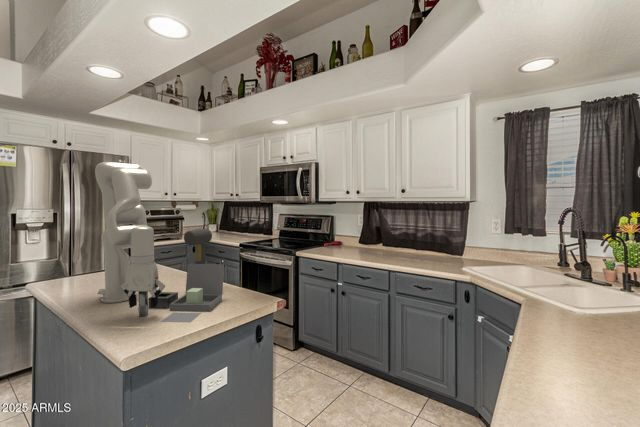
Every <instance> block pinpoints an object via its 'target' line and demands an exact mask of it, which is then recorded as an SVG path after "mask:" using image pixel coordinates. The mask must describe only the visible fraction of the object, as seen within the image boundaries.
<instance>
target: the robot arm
mask: <svg viewBox="0 0 640 427" xmlns="http://www.w3.org/2000/svg"><path fill="white" fill-rule="evenodd" d="M94 172H95V173H94V174H95V179H96V182H97V185H98V187H99V189H100V191H101V195H102V208H103V210H102V211H103V218H104V220H105V222H106V223H105V224H106V229H105V230H103V231H102V233H101V237H100V238H101V243H102V248H103V253H104V254H103V258H104V288H100V289H99V290H98V291H97V293H96V294H97V295H102V297H101V298H100V302H102V303H104V304H105V303H106V304H113V303H122V302H127V301H128V305H129V308H131V309H132V308H134V307H136V306H137V300H138V299H137V292H138V293H139V292H148V293H150V297H151V296H152V297H151V298H150V301H151V308H150V309H155V308H154V307H156V306H157V304H158V295H159V294H160V293H161V292H163V290H164V289H165V288H166V285H165V284H164V283H163V282H162V281H160V279H159V271H158V267H157V263H156V262H155V233H154V232H155V231H154V228H153V227H152V226H148V222H147V213H146V209H145V207H144V205H142V204H141V202H142V200H141V195H140V191H139V190H148V189H150V188H151V187H152V184H153V177H152V175H151V173H150V172H149V170H148V169H147V168H145V167H144V166H143V165H140V164H136V163H129V162H128V163H127V162H125V163H124V162H115V161H103V162H99V163H98V164H96V166H95V171H94ZM125 249H130V255H129V254H128V253H127V252H126V251H125Z"/></svg>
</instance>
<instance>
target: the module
mask: <svg viewBox="0 0 640 427" xmlns="http://www.w3.org/2000/svg"><path fill="white" fill-rule="evenodd" d="M185 294H186V304H203V288H191V289H190V290H188V291H187V292H186V291H185Z"/></svg>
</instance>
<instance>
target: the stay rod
mask: <svg viewBox="0 0 640 427" xmlns="http://www.w3.org/2000/svg"><path fill="white" fill-rule="evenodd" d="M148 298H149V292H138V317H139V318H143V317H144V318H145V317H147V316H149V302H148Z"/></svg>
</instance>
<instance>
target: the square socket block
mask: <svg viewBox="0 0 640 427" xmlns="http://www.w3.org/2000/svg"><path fill="white" fill-rule="evenodd" d="M151 297H152V296H151V295H150V296H148V309H152V308H151V301H150V298H151ZM177 299H179V292H178V291H177V292H173V291H172V292H171V291H170V292H168V291H166V292H165V291H162V292H161V293H160V294H159V295H158V304H157V306H156V307H154V308H153V309H170V304H171V303H172V302H174V301H176V300H177Z"/></svg>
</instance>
